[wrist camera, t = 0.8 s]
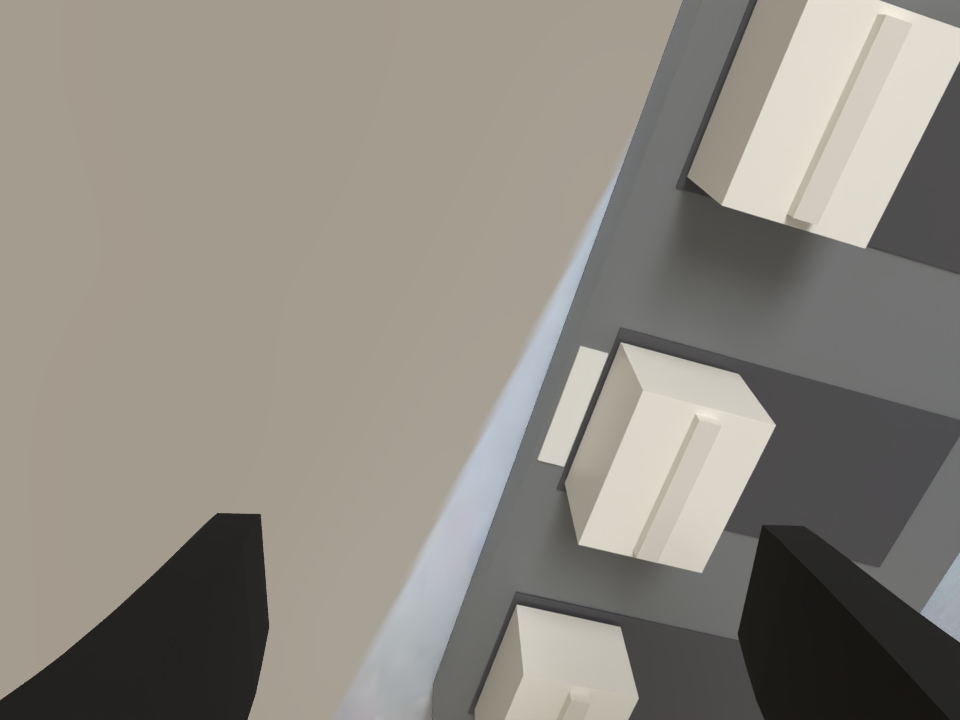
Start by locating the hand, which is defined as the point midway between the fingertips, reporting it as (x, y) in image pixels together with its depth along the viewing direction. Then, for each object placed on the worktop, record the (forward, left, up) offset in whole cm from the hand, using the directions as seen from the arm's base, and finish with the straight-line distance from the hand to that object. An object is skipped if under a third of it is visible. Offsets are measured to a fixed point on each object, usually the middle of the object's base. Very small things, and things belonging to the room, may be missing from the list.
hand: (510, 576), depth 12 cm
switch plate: (-6, -5, -10) cm, 12 cm away
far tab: (-9, +3, -8) cm, 13 cm away
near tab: (+2, -8, -8) cm, 12 cm away
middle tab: (-4, -2, -8) cm, 9 cm away
